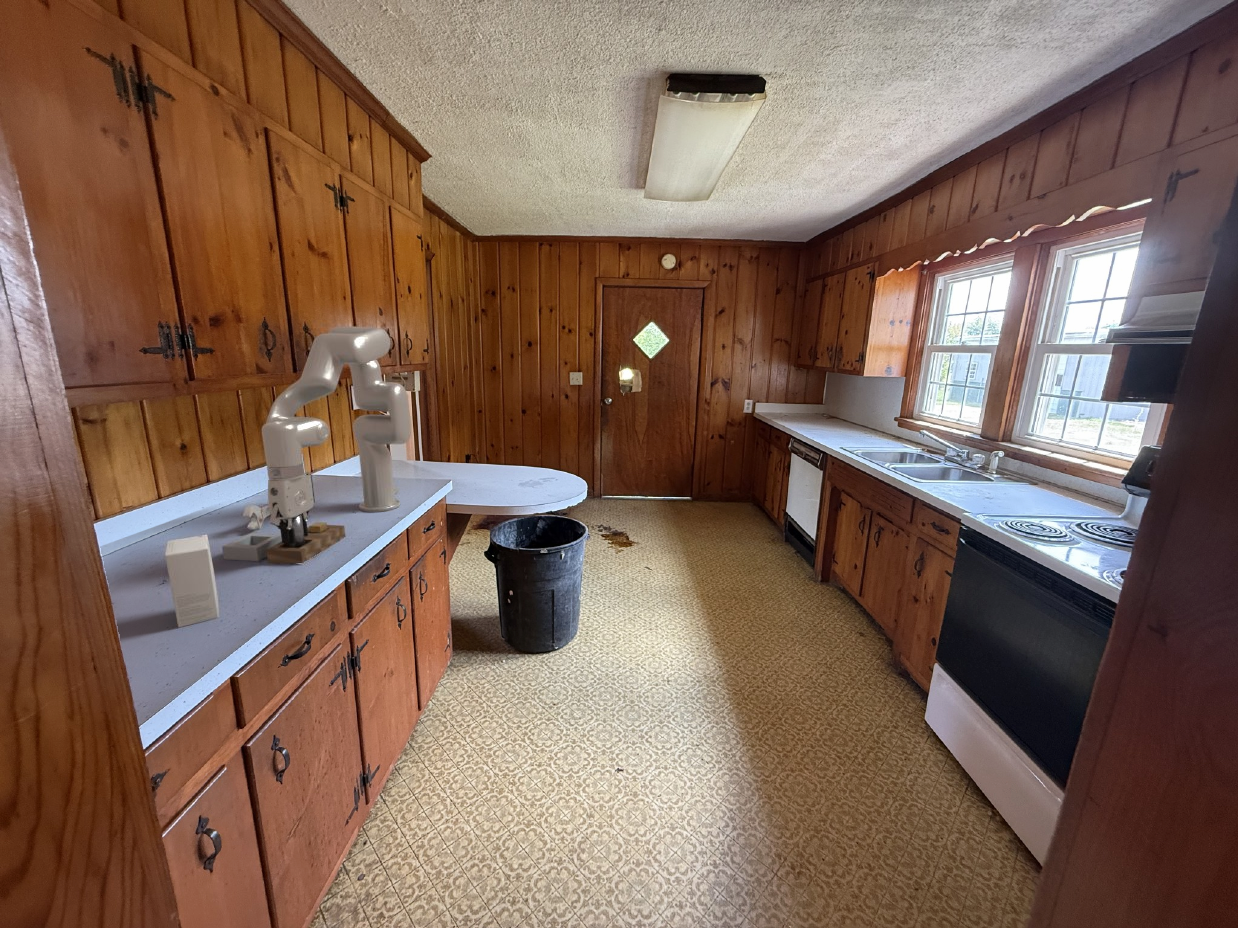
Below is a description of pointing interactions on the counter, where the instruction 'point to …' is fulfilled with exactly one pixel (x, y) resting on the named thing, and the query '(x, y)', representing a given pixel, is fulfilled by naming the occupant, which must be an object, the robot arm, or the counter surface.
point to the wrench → (256, 515)
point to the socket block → (306, 546)
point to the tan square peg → (318, 527)
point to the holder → (250, 547)
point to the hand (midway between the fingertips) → (295, 538)
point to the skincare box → (192, 580)
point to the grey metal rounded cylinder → (297, 532)
